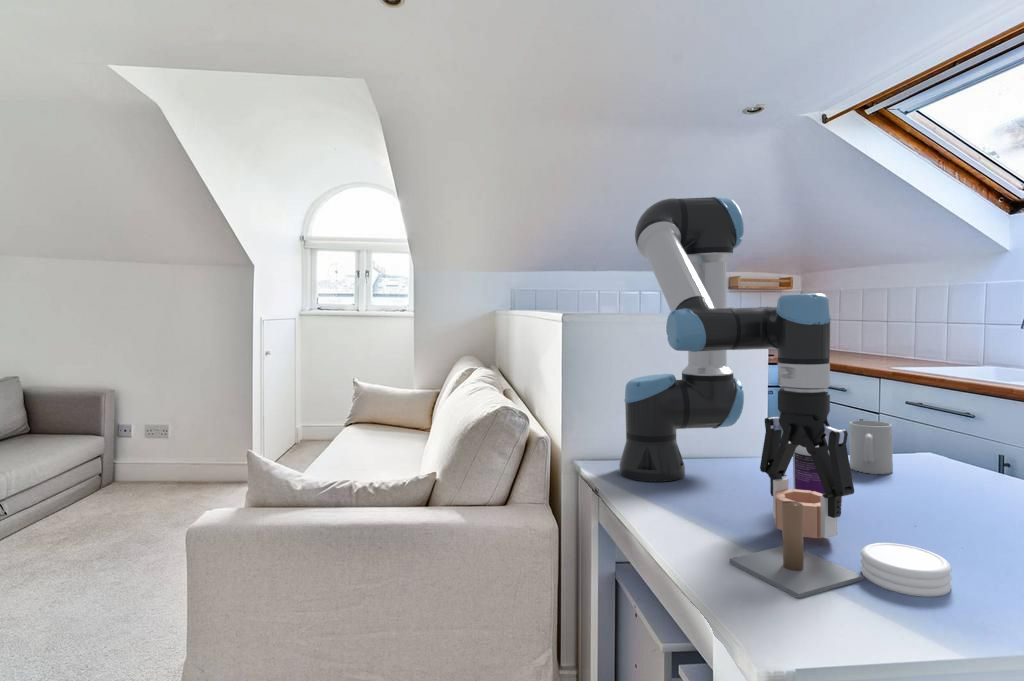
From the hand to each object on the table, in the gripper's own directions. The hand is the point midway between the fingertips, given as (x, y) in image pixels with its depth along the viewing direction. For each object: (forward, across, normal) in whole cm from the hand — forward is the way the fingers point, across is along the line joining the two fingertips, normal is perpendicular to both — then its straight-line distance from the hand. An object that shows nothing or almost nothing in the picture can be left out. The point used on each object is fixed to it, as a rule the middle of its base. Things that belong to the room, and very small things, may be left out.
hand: (803, 525), depth 91 cm
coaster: (+2, +17, -1) cm, 17 cm away
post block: (+2, +9, -12) cm, 15 cm away
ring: (0, 0, 0) cm, 0 cm away
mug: (+3, -21, +47) cm, 52 cm away
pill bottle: (+2, -9, +15) cm, 18 cm away
